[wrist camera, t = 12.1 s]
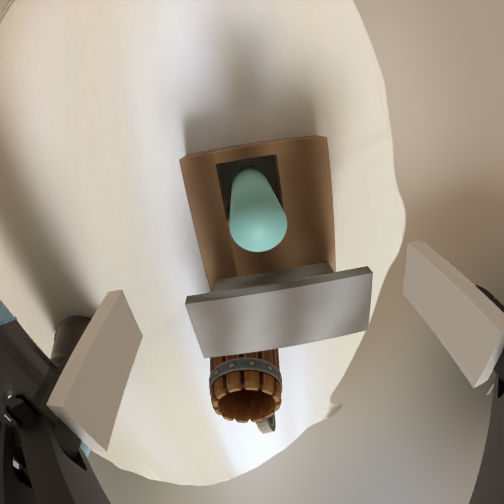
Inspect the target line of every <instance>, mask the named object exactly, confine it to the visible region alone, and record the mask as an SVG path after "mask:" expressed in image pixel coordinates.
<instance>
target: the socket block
mask: <svg viewBox="0 0 504 504" xmlns="http://www.w3.org/2000/svg"><path fill="white" fill-rule="evenodd" d="M268 155H273V161H274V168H275V175H276V182H277V190H278V197H279V203H280V205H281V207H282V209H283V211H284V213H285V215H286V218H287V230H286V233H285V235H284V237H283V239H282V240H281V242H280V243H279V244H277V245H276V246H275V247H273V248H272V249H269V250H267V251H262V252H253V251H249V250H246V249H244V248H242V247H241V246H239V245H238V244H237V243H236V242H235V241H234V239H233V238H232V236H231V233H230V228H229V222H230V210H227V205H226V199H225V194H224V189H223V184H222V178H221V173H220V168H219V163H225V162H230V161H236V160H242V159H248V158H255V157H261V156H268ZM179 161H180V166H181V171H182V175H183V180H184V185H185V189H186V194H187V198H188V203H189V207H190V211H191V215H192V220H193V224H194V228H195V232H196V236H197V240H198V244H199V248H200V252H201V256H202V260H203V264H204V268H205V272H206V276H207V279H208V283H209V287H210V291H211V293H207V294H200V295H193V296H187V298H186V302H185V306H186V309H187V312H188V315H189V317H190V320H191V323H192V326H193V329H194V332H195V334H196V337H197V340H198V342H199V345H200V348H201V350H202V353H203V356H204V358H209V357H219V356H227V355H235V354H243V353H250V352H257V351H264V350H270V349H277V348H283V347H289V346H294V345H300V344H305V343H310V342H315V341H320V340H325V339H330V338H335V337H339V336H344V335H348V334H352V333H357V332H361V331H365V330H368V323H369V313H370V303H371V291H372V276H373V272H372V271H371V270H370V269H369V268H368V266H366V267H361V268H356V269H350V270H345V271H340V272H336V263H335V233H334V213H333V198H332V184H331V173H330V162H329V152H328V143H327V137H322V136H308V137H298V138H289V139H281V140H273V141H266V142H259V143H252V144H246V145H240V146H234V147H228V148H223V149H217V150H212V151H207V152H202V153H197V154H192V155H188V156H185V157H183V158H182V159H180V160H179Z"/></svg>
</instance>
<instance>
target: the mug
mask: <svg viewBox="0 0 504 504" xmlns="http://www.w3.org/2000/svg"><path fill="white" fill-rule="evenodd" d="M209 387H210V395H211V402H212V405H213V408H214V410H215V412H216V413H217V414H218V415H222V416H223V417H224V419H227V420H229V421H233V420H234V418H235V419H236V421H237V422H240V423H246V422H248V420H249V419H250V420H251V421H252V422H256V424H257V426H258V428H259V430H260V431H261V432H262V433H263V434H264V433H268V432H273V431H275V414H274V413H275V411H277V410H278V409H279V407H280V405H281V393H282V377H281V373H280V370H279V355H278V348H277V349H270V350H264V351H257V352H250V353H243V354H235V355H227V356H219V357H210V378H209Z"/></svg>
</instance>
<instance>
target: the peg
mask: <svg viewBox="0 0 504 504" xmlns="http://www.w3.org/2000/svg"><path fill="white" fill-rule="evenodd" d="M229 228H230V233H231V236H232V238H233V239H234V241H235V242H236V243H237V244H238V245H239V246H241V247H242V248H244V249H246V250H249V251H253V252H262V251H267V250H269V249H272V248H273V247H275V246H276V245H277V244H279V243H280V242H281V240H282V239H283V237H284V235H285V233H286V230H287V218H286V215H285V213H284V211H283V209H282V207H281V205H280V203H279V201H278V199H277V197H276V195H275V194H274V192H273V190H272V188H271V186H270V184H269V182H268V181H267V179H266V177H265V175H264V173H263V172H262V170H261V169H260V168H258V167H256V166H254V165H244V166H242V167H240V168H238V169H237V170H236V172H235V173H234V175H233V179H232V193H231V207H230V222H229Z"/></svg>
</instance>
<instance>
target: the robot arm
mask: <svg viewBox="0 0 504 504" xmlns="http://www.w3.org/2000/svg"><path fill="white" fill-rule="evenodd" d="M403 294H404V295H405V297H406V298H407V299H408V300H409V301H410V303H411V304H412V305H413V306H414V308H415V309H416V310H417V311H418V313H419V314H420V315H421V316H422V318H423V319H424V320H425V321H426V323H427V324H428V325H429V327H430V328H431V329H432V331H433V332H434V333H435V334H436V336H437V337H438V338H439V340H440V341H441V342H442V344H443V345H444V347H445V348H446V349H447V351H448V352H449V353H450V355H451V356H452V358H453V359H454V360H455V361H456V363H457V365H458V366H459V368H460V369H461V370H462V372H463V373H464V375H465V376H466V378H467V379H468V381H469V382H470V384H471V385H472V387H473V388H475V387H477V386H478V385H480V384H482V383H484V382H485V381H487V380H488V378H489V376H490V375H491V373H492V371H493V370H494V371H495V372H496V374H497V375H496V377H495V379H494V381H493V382H492V384H491V386H490V387H489V389H488V391H487V394H489V393H490V392H491V390H492V388H493V394H492V395H493V400H492V408H491V416H490V423H489V429H488V435H487V440H486V445H485V450H484V454H483V458H482V463H481V466H480V470H479V474H478V477H477V481H476V484H475V487H474V491H473V494H472V497H471V499H470V503H469V504H504V306H503V305H502V304H500V302H499V301H498V300H497V299H495V298H494V296H493V295H492V294H491V293H489V292H488V291H487V290H485V289H484V288H482V287H480V286H478V285H474V284H473V283H471V282H470V281H469V280H468V279H467V278H466V277H465V276H464V275H462V274H461V273H460V272H459V271H458V270H457V269H455V268H454V267H453V266H452V265H451V264H450V263H448V262H447V261H446V260H445V259H444V258H442V257H441V256H440V255H439V254H437V253H436V252H435V251H434V250H432V249H431V248H430V247H429V246H427V245H426V244H425V243H424V242H422V241H421V240H420V241H415V242H410V243H408V248H407V259H406V268H405V277H404V285H403ZM142 337H143V336H142V333H141V331H140V329H139V327H138V325H137V323H136V321H135V318H134V316H133V314H132V312H131V309H130V307H129V305H128V303H127V300H126V298H125V296H124V293H123V291H122V290H118V291H111V292H108V293H107V295H106V297H105V298H104V300H103V301H102V303H101V305H100V306H99V308H98V309H97V311H96V313H95V314H94V316H93V318H92V319H90V318H87V317H82V316H73V317H69V318H67V319H65V320H64V321H63V322H62V323H61V324H60V326H59V327H58V329H57V331H56V333H55V338H54V345H53V350H52V354H51V359H49V358H48V357H47V356H46V355H45V354H44V353H43V351H42V350H41V349H40V348H39V347H38V346H37V345H36V343H35V342H34V341H33V340H32V339H31V338H30V336H29V335H28V334H27V333H26V331H25V330H24V329H23V328H22V326H21V325H20V324H19V323H18V321H17V318H16V317H15V316H13V315H12V314H11V312H10V311H9V310H8V309H7V307H6V306H5V305H4V304H3V302H2V301H1V300H0V504H111V503H110V502H109V500H108V498H107V496H106V495H105V493H104V491H103V489H102V488H101V486H100V484H99V482H98V480H97V478H96V477H95V474H94V472H93V470H92V468H91V466H90V464H89V462H88V460H87V457H88V454H89V452H90V450H91V449H94V450H100V451H106V452H107V449H108V445H109V441H110V437H111V434H112V430H113V427H114V423H115V420H116V416H117V413H118V409H119V406H120V403H121V399H122V396H123V393H124V390H125V387H126V384H127V380H128V377H129V374H130V371H131V368H132V365H133V362H134V359H135V356H136V354H137V351H138V348H139V345H140V342H141V339H142ZM5 414H6V415H7V417H8V418H9V419H10V420H11V421H9V420H8V419H7V418H6V417H5V416H4V415H5ZM13 460H14V461H16V462H17V463H18V464H19V469H17V468H15V467H14V466H13Z"/></svg>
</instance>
